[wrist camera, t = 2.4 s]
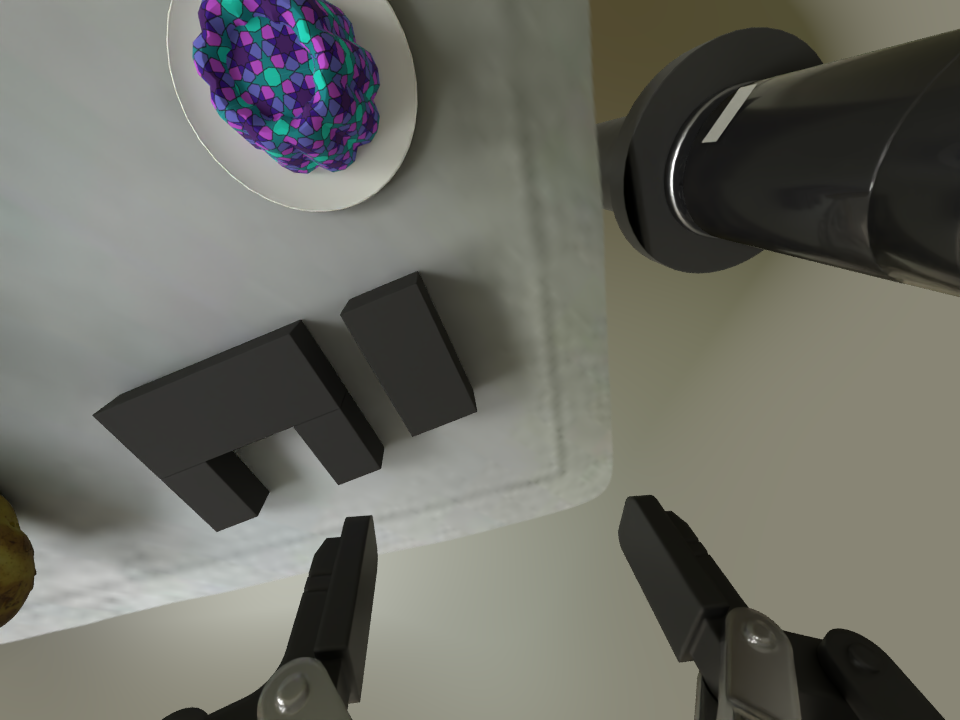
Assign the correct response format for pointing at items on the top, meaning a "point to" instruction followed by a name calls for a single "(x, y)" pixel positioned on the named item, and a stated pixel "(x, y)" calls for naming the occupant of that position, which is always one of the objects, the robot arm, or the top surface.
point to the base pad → (242, 422)
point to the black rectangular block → (410, 353)
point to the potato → (13, 564)
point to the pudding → (297, 94)
